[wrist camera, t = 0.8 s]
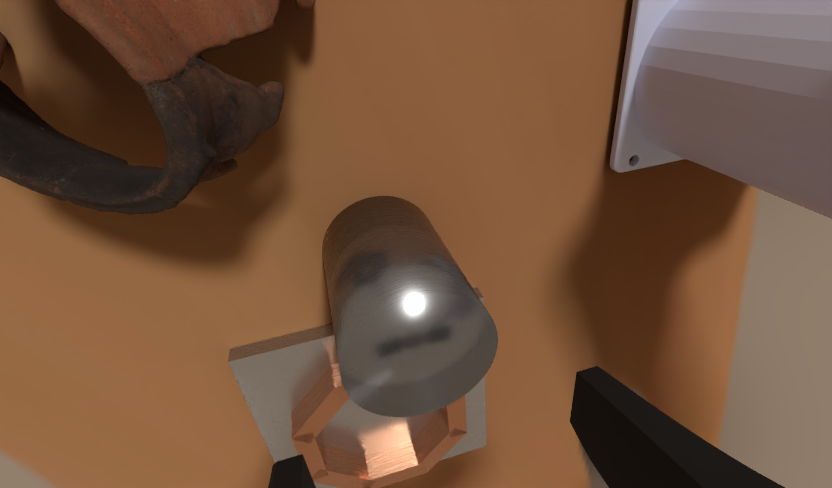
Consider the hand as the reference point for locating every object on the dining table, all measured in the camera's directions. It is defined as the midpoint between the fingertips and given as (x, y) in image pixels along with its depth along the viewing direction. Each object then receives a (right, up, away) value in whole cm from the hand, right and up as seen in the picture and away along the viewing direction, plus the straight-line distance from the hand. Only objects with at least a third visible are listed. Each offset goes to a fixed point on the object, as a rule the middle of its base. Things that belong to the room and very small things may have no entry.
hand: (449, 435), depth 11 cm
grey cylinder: (-2, +5, +8) cm, 10 cm away
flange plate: (-3, -4, +13) cm, 14 cm away
